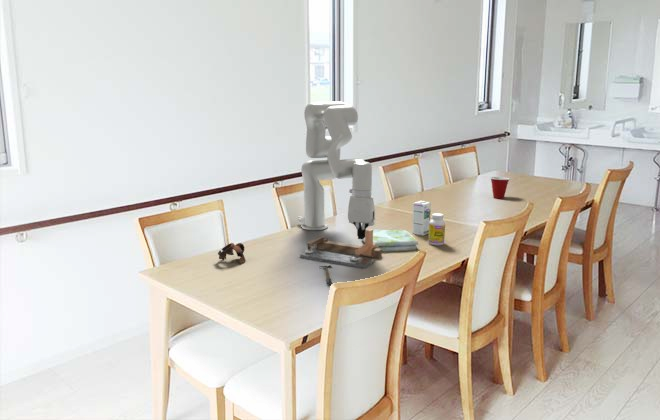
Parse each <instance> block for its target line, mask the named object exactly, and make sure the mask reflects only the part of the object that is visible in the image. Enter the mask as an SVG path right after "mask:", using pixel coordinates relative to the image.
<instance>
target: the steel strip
mask: <svg viewBox="0 0 660 420" xmlns="http://www.w3.org/2000/svg"><path fill="white" fill-rule="evenodd" d="M300 258H301V259H306V260H312V261H319V262H323V263H329V264H336V265H341V266H348V267H353V268H358V269H366V268H367V267H369V266H370V265H372V264H373V262H374V259H373V258H366V257H361V256H359V257H358V258H356V257H355V255H348V254H342V253H337V252H330V251H325V250H324V251H323V250H319V249H317V250H316V249H312V248H311V250H307V248H306V249H305V250H304V252H302V253H300V254H299V259H300Z"/></svg>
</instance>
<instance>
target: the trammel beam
mask: <svg viewBox="0 0 660 420" xmlns="http://www.w3.org/2000/svg"><path fill="white" fill-rule="evenodd" d="M315 246H316V249H317V250H322V251H323V250H324V251H328V252H330V251H331V252H335V253H341V254H342V253H344V254H347V255H348V254H351V255H355V250H357V249H358V248H360V247H362V245H359V244H351V243H346V242H345V243H344V242H339V241H338V242H336V241H332V240H329V238H328V237H325V236H318V237H317V238H314V239H312V240H311V241H309V242H307V243H306V249H307V250H311V249H312V247H315ZM382 252H383V251H382V249H379V248H373V249H372V255H371V256H368V255H362V254H360V255H359V256H360V257H361V256H362V257H368V258H372V259H373V258H374V259H380V258H381V257H382V256H383V255H382Z"/></svg>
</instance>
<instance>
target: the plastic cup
mask: <svg viewBox="0 0 660 420" xmlns="http://www.w3.org/2000/svg"><path fill="white" fill-rule="evenodd" d="M490 181H491V188H492V196H493V197H492V198H493V199H495V198H496V200H503V199H505V195H506V191H507V189H508V188H507V187H508V184H509V181H510V177H509V178H508V177H503V176H490Z"/></svg>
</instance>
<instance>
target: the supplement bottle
mask: <svg viewBox="0 0 660 420" xmlns="http://www.w3.org/2000/svg"><path fill="white" fill-rule="evenodd" d="M431 218H432V219H430V222H429V233H428V244H430V245H432V246H443V245H444V244H445V236H446V234H445V233H446V221H445V220H444V214H443V213H440V212H436V213H435V212H434V213H432V214H431Z"/></svg>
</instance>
